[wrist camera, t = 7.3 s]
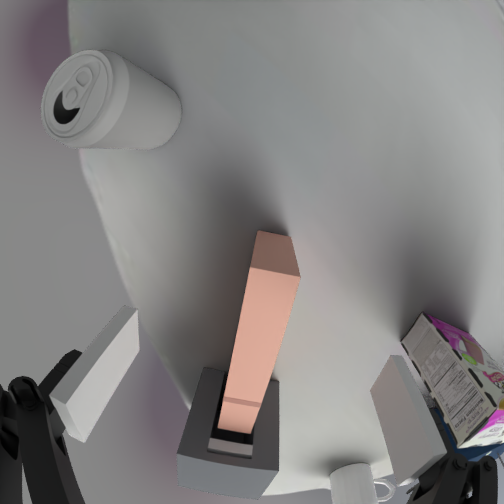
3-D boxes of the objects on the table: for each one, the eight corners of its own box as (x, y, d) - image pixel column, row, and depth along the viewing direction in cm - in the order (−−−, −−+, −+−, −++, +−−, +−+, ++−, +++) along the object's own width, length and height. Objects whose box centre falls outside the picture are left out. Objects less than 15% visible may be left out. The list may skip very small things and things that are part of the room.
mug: (385, 469, 38) (394, 506, 29) (329, 482, 40) (333, 520, 31) (392, 453, 36) (403, 493, 27) (329, 468, 38) (334, 511, 28)
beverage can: (111, 125, 23) (23, 115, 11) (153, 73, 21) (79, 29, 10) (153, 163, 24) (70, 171, 12) (199, 110, 22) (139, 72, 11)
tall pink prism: (257, 230, 25) (249, 267, 16) (291, 236, 25) (301, 277, 16) (229, 366, 30) (217, 428, 21) (256, 371, 30) (250, 434, 21)
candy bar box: (471, 331, 27) (535, 410, 12) (450, 360, 29) (503, 444, 13) (421, 307, 26) (500, 409, 11) (397, 342, 28) (455, 452, 12)
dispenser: (203, 367, 31) (176, 453, 19) (279, 381, 31) (278, 471, 19) (198, 411, 33) (178, 485, 22) (263, 423, 33) (258, 499, 22)
